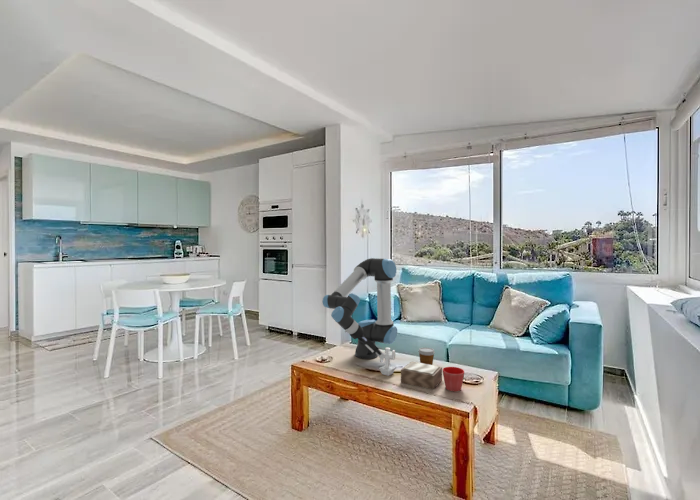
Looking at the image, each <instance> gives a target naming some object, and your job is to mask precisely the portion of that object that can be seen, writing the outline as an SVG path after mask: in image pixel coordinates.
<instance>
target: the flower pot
mask: <svg viewBox="0 0 700 500" xmlns="http://www.w3.org/2000/svg"><path fill="white" fill-rule="evenodd" d="M464 376H465V370H464V369H463V368H461V367H457V366H446V367H442V377H443V381H444V386H445V389H446V390H447V391H450V392H453V393H455V392H460V391H461V390H462V387H463V382H464Z"/></svg>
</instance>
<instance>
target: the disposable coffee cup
mask: <svg viewBox="0 0 700 500" xmlns="http://www.w3.org/2000/svg"><path fill="white" fill-rule="evenodd" d="M435 353H436V352H435V349H434V348H432V347H419V348H418V354H419V355H418V356H419V363H424V364H429V365H434V363H433V362H434V356H435Z"/></svg>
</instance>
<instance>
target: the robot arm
mask: <svg viewBox="0 0 700 500" xmlns="http://www.w3.org/2000/svg"><path fill="white" fill-rule="evenodd" d="M396 275H397V266H396V262H395V261H394V260H393V259H391V258H374V257H373V258H372V257H371V258H368V259H365V260H363V261H362V262H360V263H359V264H358V265H356V266H355V267H354V268H353V272H352V273H351V274H349V275H348V276H347V278H346V279H345V280H344V281H343V282H342V283H341V284H340V285H339V286H338V287H337V288H336V289H335V290H334V291H333V292H332V293H331V294H325V295H324V296H323V298H322V305H323V307H324V308H326V309H329V310H330V309H331V310H332V312H331V314H330V315H331V318H332V319H333V320H334V322H336V323H337V324H338V325H339V326H340V328H342V329H343V330H344V333H347V334H348V335H349V336H350V337H351V338H352V339H353V340H357V345H356V347H355V351H354V356H355V357H356V358H359V359H362V360H363V359H364V360H365V359H366V360H367V359H369V360H370V359H375V358H377V357H379V359H380V358H381V359H382V360H383V361H384V360H385V358H384V357H385V355H384V354H383V353H384V352H382V351H381V350H380V348H379V347H377V344H376V343H380V344H384V345H391V344H393V343H394V342H395V341H396V338H397V336H398V327H397V326H395V325H394V324H395V323H394V321H393V320H392V299H391V298H392V295H391V292H392V291H391V283H392V281H393V280H394V278H395V277H396ZM368 277H374V281H375V282H376V300H377V301H376V302H377V305H376V306H377V307H376V308H377V320H375V319H365V320H364V319H363V320H361V321H358V322H357V321H356V320H355V319H354V318H353V316H352V315H353V314H354V312H355V311H356V309H357V307H358V306H359V303H360V302H361V299H360V297H359V296H358V295H357V294H356V293H353V292H352V291H354V289H356V287H357V286H358V285H359V284H360V283H361V282H362V281H363V280H365V279H367V278H368ZM351 292H352V293H351Z"/></svg>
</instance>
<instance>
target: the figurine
mask: <svg viewBox="0 0 700 500" xmlns="http://www.w3.org/2000/svg"><path fill="white" fill-rule="evenodd" d="M384 349H385V351H384V352H382V353H383V354H384V355H385V357H384V359H383V360H382V359H381V358H380V357H379V362H380V363H383V362H384V365H382V366H379V367H378V370H379V371H380V373H381V375H385V376H391V375H393V374H394V372H395V370H396V369H397V367H396V366H393V365H391V361H394V360H395V359H396V350H395V349H393V350H391V347H385V348H384Z"/></svg>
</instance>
